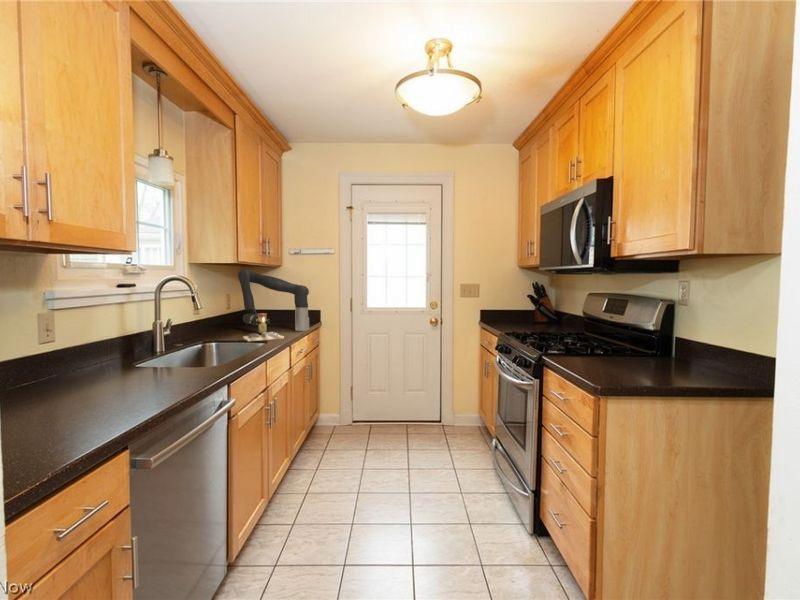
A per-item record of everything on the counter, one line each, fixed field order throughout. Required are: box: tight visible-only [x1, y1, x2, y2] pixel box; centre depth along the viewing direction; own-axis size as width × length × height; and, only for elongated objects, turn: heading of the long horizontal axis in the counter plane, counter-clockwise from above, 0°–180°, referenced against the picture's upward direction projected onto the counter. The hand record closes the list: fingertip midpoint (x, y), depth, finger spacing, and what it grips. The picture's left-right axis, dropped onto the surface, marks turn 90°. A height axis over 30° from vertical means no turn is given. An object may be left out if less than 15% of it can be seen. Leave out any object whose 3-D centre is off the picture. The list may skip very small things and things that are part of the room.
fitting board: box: [242, 331, 285, 342], centre depth 254 cm, size 22×13×3 cm, turn 124°
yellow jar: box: [257, 312, 268, 334], centre depth 267 cm, size 6×6×12 cm
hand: (263, 322), depth 265 cm, fingers closed on yellow jar, 5 cm apart
